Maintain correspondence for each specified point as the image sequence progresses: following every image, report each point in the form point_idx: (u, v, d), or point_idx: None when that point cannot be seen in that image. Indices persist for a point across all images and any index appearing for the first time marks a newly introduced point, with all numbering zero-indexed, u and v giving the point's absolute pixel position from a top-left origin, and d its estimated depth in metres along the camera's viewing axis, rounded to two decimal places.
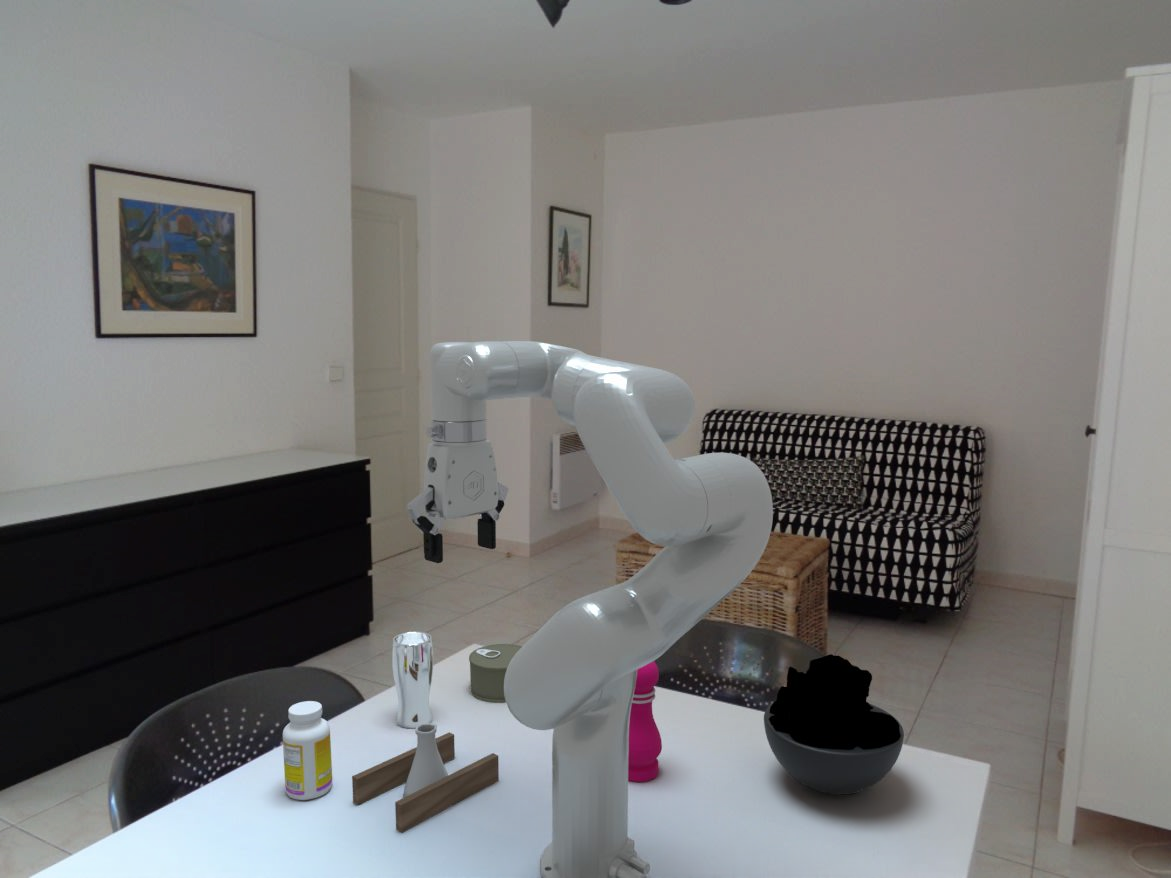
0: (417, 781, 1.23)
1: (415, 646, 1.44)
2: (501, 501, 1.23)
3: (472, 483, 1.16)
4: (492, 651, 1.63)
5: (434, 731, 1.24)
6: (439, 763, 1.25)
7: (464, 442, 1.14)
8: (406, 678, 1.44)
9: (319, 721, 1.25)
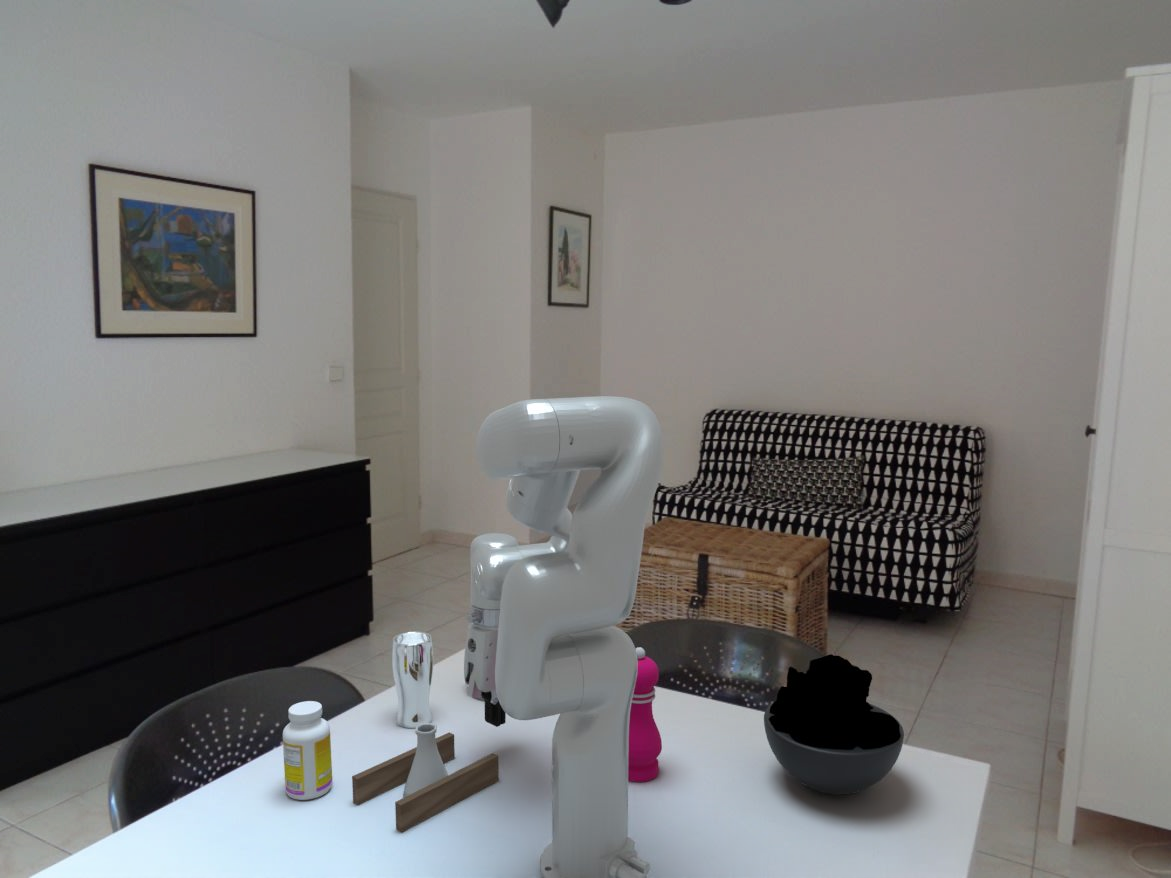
0: (417, 781, 1.23)
1: (415, 646, 1.44)
2: None
3: None
4: None
5: (434, 731, 1.24)
6: (439, 763, 1.25)
7: None
8: (406, 678, 1.44)
9: (319, 721, 1.25)
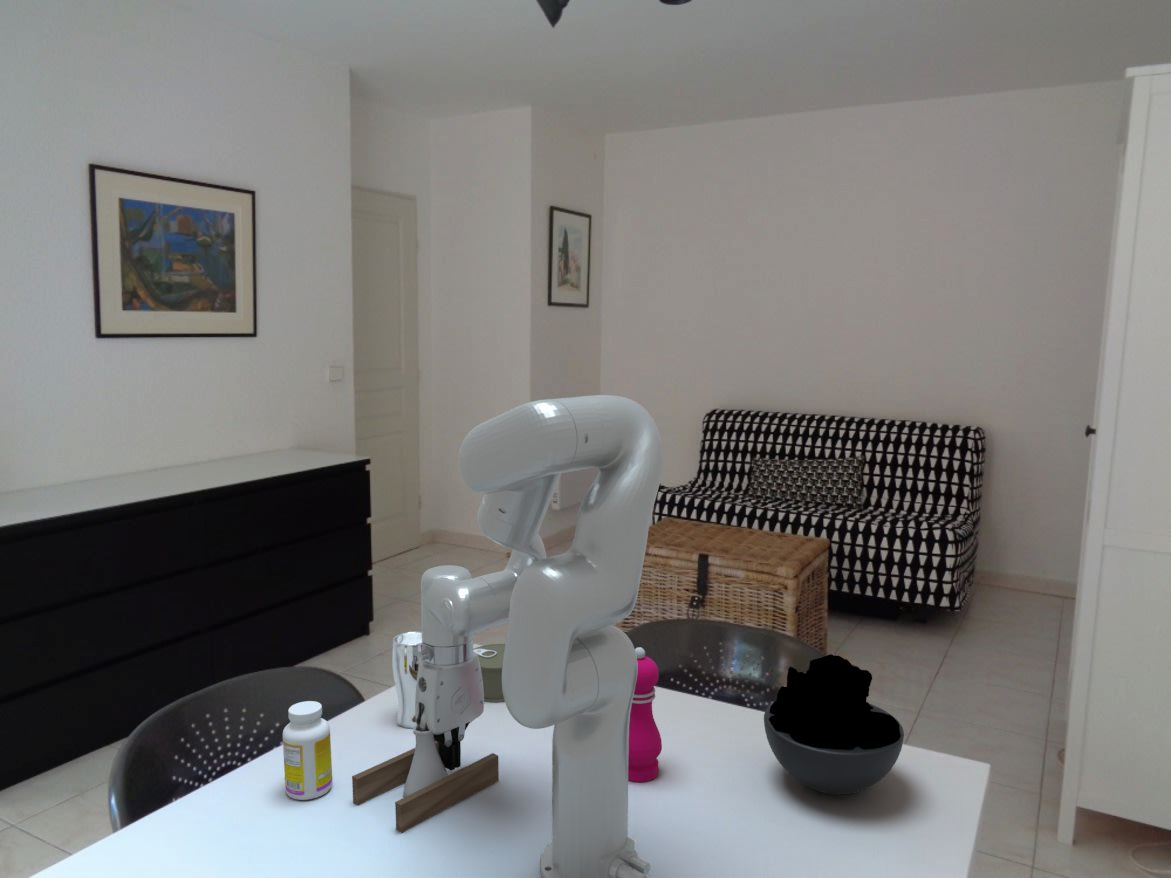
0: (416, 780, 1.23)
1: (415, 646, 1.44)
2: None
3: (459, 698, 1.26)
4: (489, 651, 1.63)
5: None
6: (438, 762, 1.25)
7: (452, 664, 1.24)
8: (406, 678, 1.44)
9: (319, 721, 1.25)
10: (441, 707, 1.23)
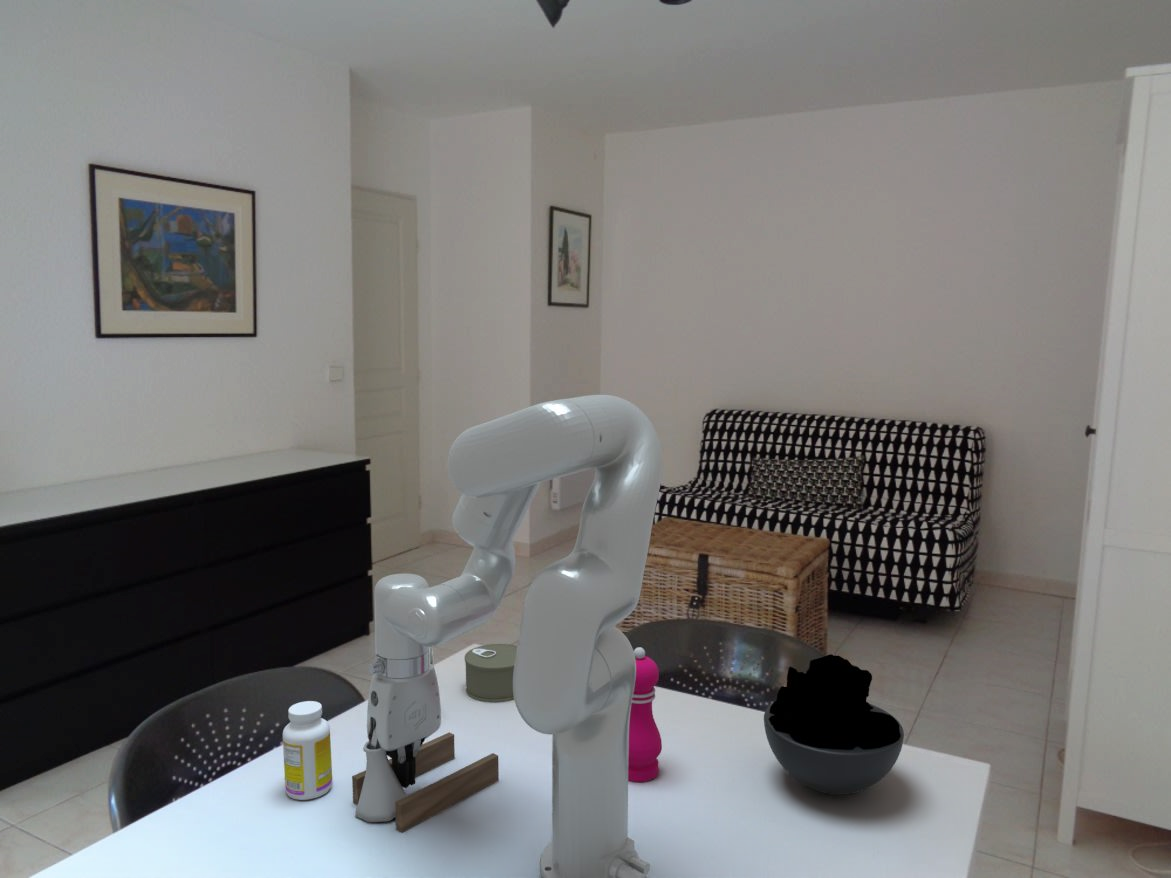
0: (367, 799, 1.18)
1: None
2: None
3: (413, 713, 1.20)
4: (488, 651, 1.63)
5: None
6: (391, 780, 1.19)
7: (405, 678, 1.18)
8: None
9: (319, 721, 1.25)
10: (393, 722, 1.18)
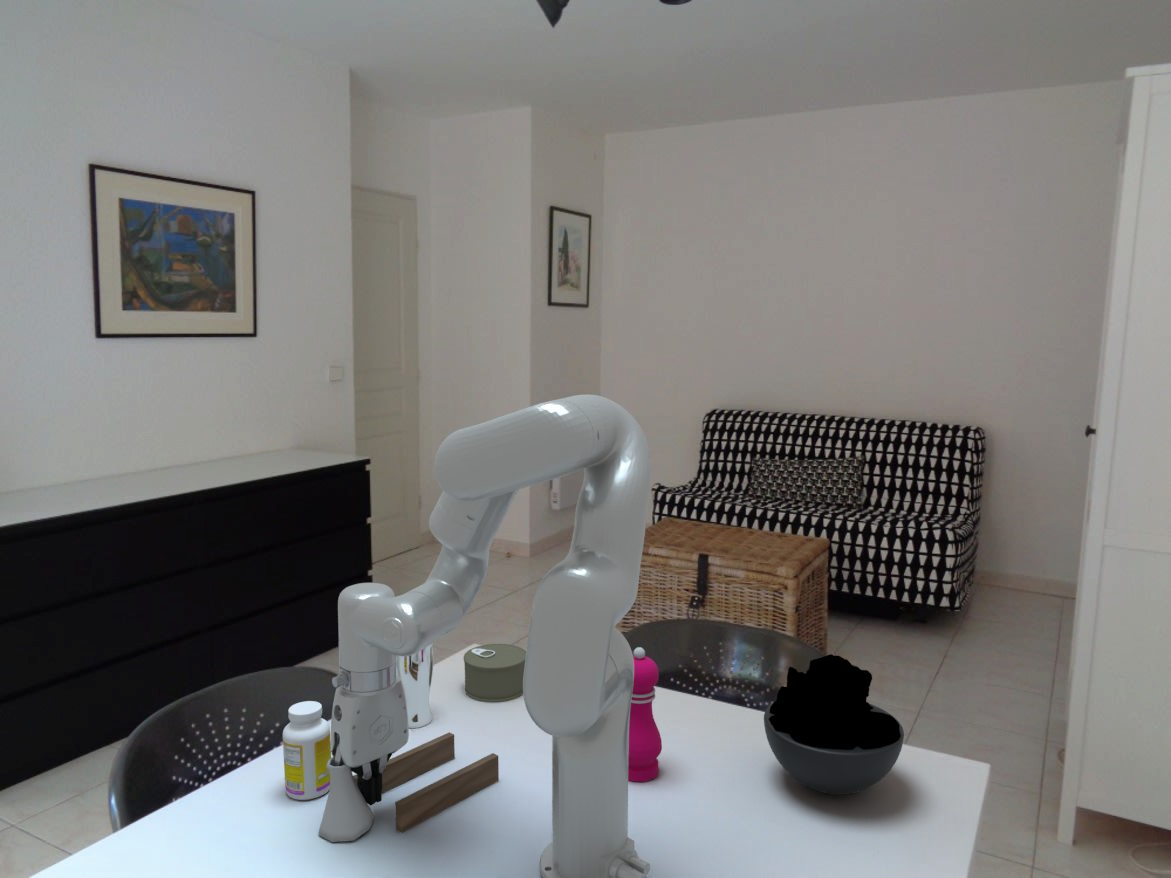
0: (331, 817, 1.14)
1: None
2: None
3: (379, 728, 1.16)
4: (487, 651, 1.64)
5: (347, 765, 1.14)
6: (355, 798, 1.15)
7: (370, 691, 1.13)
8: (406, 678, 1.44)
9: (319, 721, 1.25)
10: (357, 738, 1.13)
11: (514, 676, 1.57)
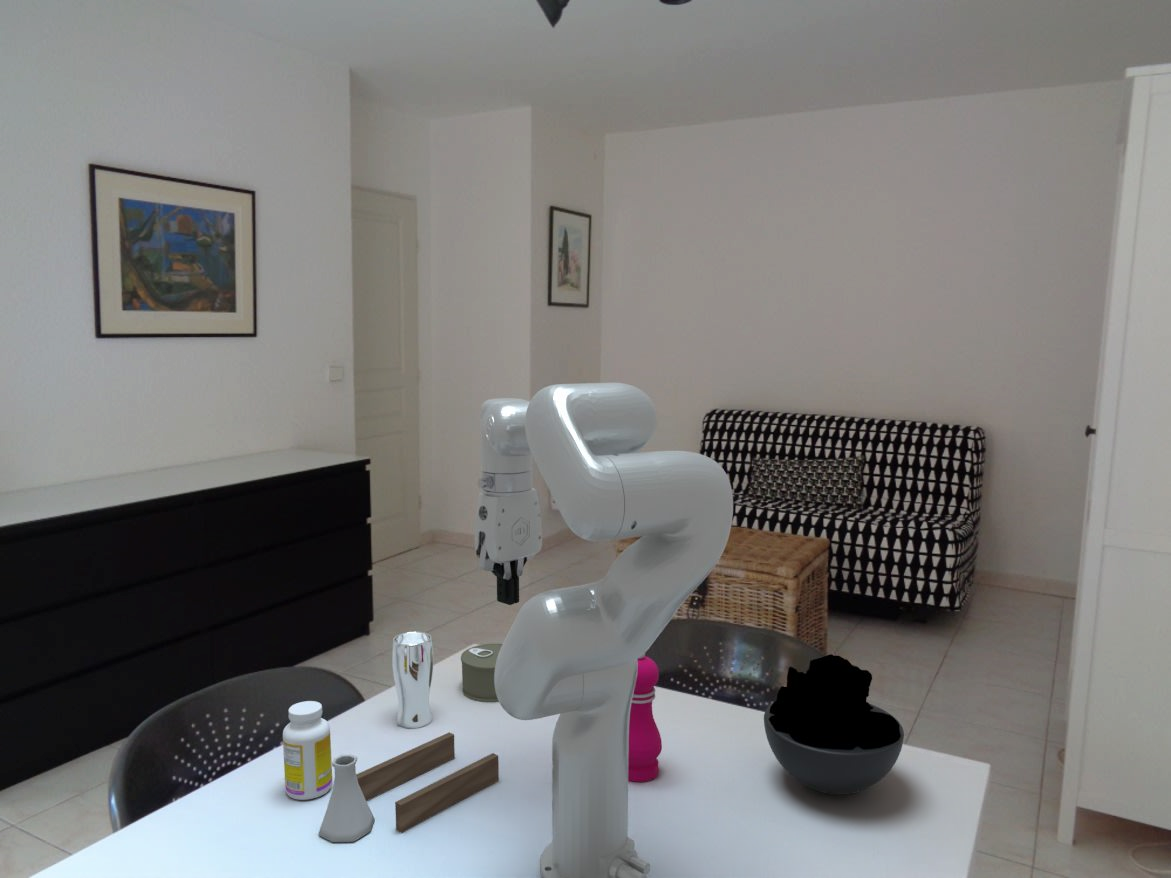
0: (332, 817, 1.14)
1: (415, 646, 1.44)
2: (524, 557, 1.29)
3: (519, 529, 1.25)
4: (485, 650, 1.64)
5: (352, 764, 1.15)
6: (358, 799, 1.15)
7: (512, 492, 1.23)
8: (406, 678, 1.44)
9: (319, 721, 1.25)
10: (502, 535, 1.23)
11: None
